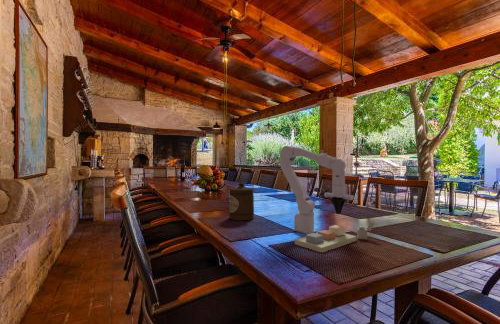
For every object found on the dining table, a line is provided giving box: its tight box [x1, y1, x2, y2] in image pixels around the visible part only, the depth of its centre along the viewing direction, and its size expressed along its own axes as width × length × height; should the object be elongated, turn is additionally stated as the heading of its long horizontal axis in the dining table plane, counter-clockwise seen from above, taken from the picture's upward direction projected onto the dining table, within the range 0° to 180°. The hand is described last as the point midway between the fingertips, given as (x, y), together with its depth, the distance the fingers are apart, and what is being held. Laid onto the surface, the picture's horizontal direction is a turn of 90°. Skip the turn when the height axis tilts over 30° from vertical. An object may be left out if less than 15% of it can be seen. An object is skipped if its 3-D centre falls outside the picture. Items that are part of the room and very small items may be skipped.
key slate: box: [305, 232, 323, 244], centre depth 116 cm, size 5×5×3 cm
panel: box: [294, 229, 358, 254], centre depth 121 cm, size 14×25×2 cm, turn 129°
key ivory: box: [328, 224, 346, 236], centre depth 126 cm, size 5×5×3 cm
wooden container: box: [228, 181, 255, 221], centre depth 169 cm, size 15×15×22 cm
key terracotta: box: [317, 229, 335, 241], centre depth 121 cm, size 5×5×3 cm
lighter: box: [356, 221, 375, 240], centre depth 127 cm, size 7×2×8 cm, turn 76°
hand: (338, 213), depth 132 cm, fingers closed
